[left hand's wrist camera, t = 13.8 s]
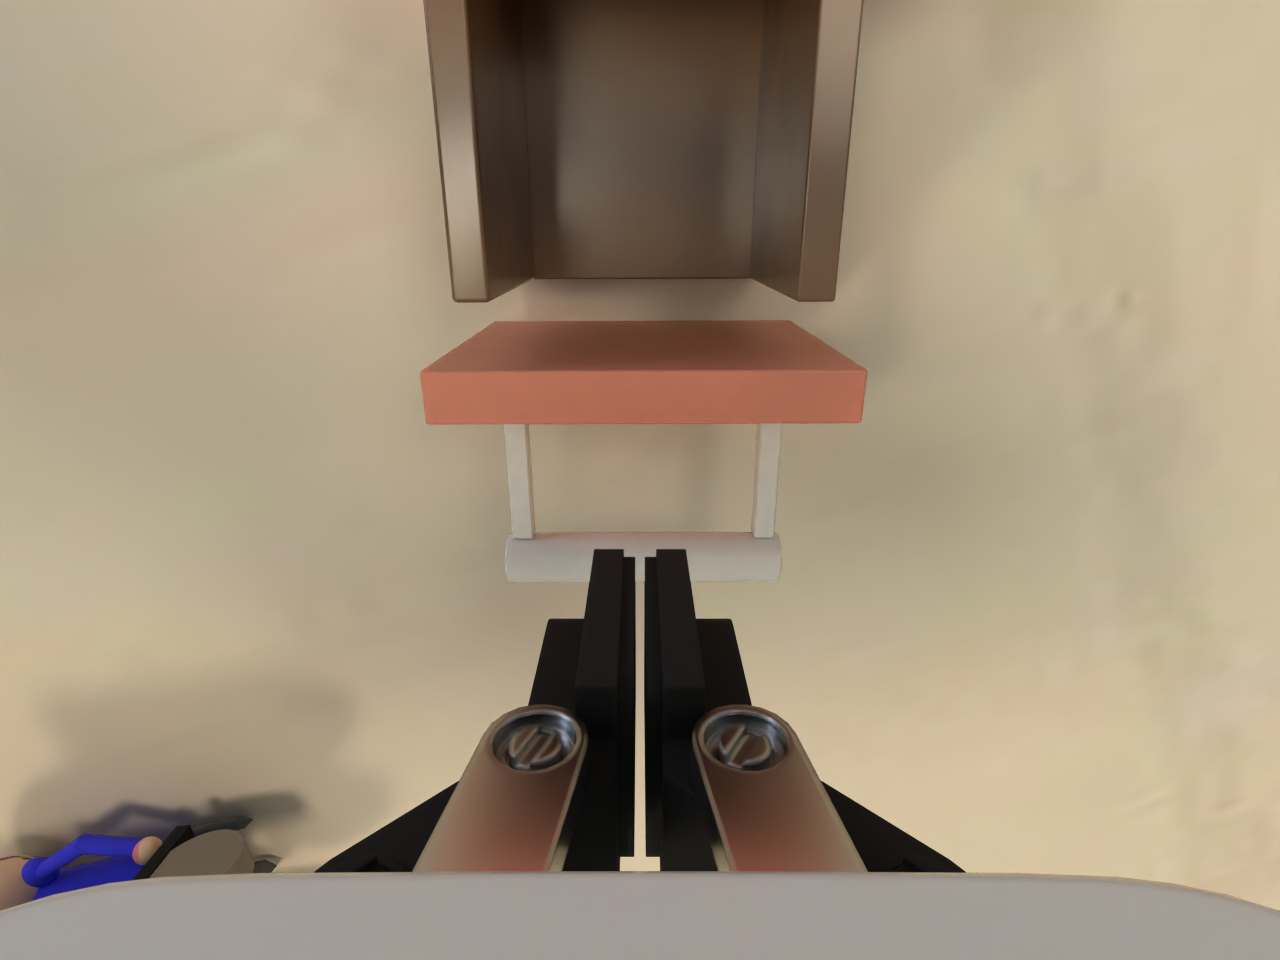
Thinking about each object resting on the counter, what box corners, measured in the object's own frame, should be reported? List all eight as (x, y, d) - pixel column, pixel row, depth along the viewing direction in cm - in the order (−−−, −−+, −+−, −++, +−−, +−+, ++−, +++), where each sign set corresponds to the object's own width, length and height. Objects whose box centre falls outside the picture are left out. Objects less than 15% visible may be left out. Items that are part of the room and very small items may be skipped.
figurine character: (284, 751, 31) (-54, 830, 30) (200, 905, 23) (-245, 1013, 23) (335, 858, 33) (23, 934, 32) (273, 1029, 26) (-129, 1130, 25)
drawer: (775, 525, 24) (835, 657, 17) (509, 526, 24) (453, 657, 17) (849, -467, 16) (1039, -1092, 8) (432, -465, 16) (245, -1087, 8)
